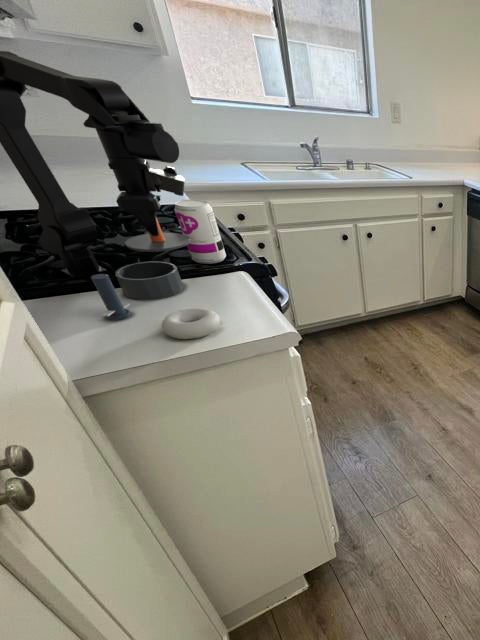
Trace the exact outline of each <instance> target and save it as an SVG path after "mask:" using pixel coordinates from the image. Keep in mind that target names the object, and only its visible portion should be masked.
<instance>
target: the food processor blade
mask: <svg viewBox="0 0 480 640" xmlns="http://www.w3.org/2000/svg"><path fill="white" fill-rule="evenodd" d="M90 279H91V281H92V283H93V284H94V286H95V288H96V290H97V292H98V295H99V296H100V298H101V300H102V302H103V304H104V306H105V308H106V310H107V311H105V312H104V313H102V314H101V315H100V316H101V317H106V318H107V320H110V321H122V320H126V319H128V318H130V317H131V311H130V310H129V309H127V307H129V306H130V305H131V304H130V303H124V302H123V303H122V301H121V299H120V297H119V295H118V293H117V290H116V288H115V286H114V285H113V282H112V281H111V278H110V276H109V275H108V274H107V273H99V274H95V275H91V277H90Z"/></svg>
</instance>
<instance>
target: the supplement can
mask: <svg viewBox="0 0 480 640" xmlns="http://www.w3.org/2000/svg"><path fill="white" fill-rule="evenodd" d="M174 204H175V206H174V213H175V216H176V219H177V222H178V225H179V228H180V231H181V234H184V235H186V236H188V237H189V238H190V240H191V242H190V243H189V244H188V245H186V247H187V250H188V254H189V256H190V259H191V260H193V261H194V262H196V263H198V264H203V265H205V264H206V265H207V264H210V265H211V264H217V263H220V262H222V261H224V260H225V258H226V257H227V253H226V251H225V247H224V244H223V240H222V237H221V234H220V230H219V226H218V223H217V220H216V216H215V213H214V210H213V208H212V206H211V205H210V204H209V203H208V201H206V200H202V199H182V200H178V201H176V202H175V203H174Z"/></svg>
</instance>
